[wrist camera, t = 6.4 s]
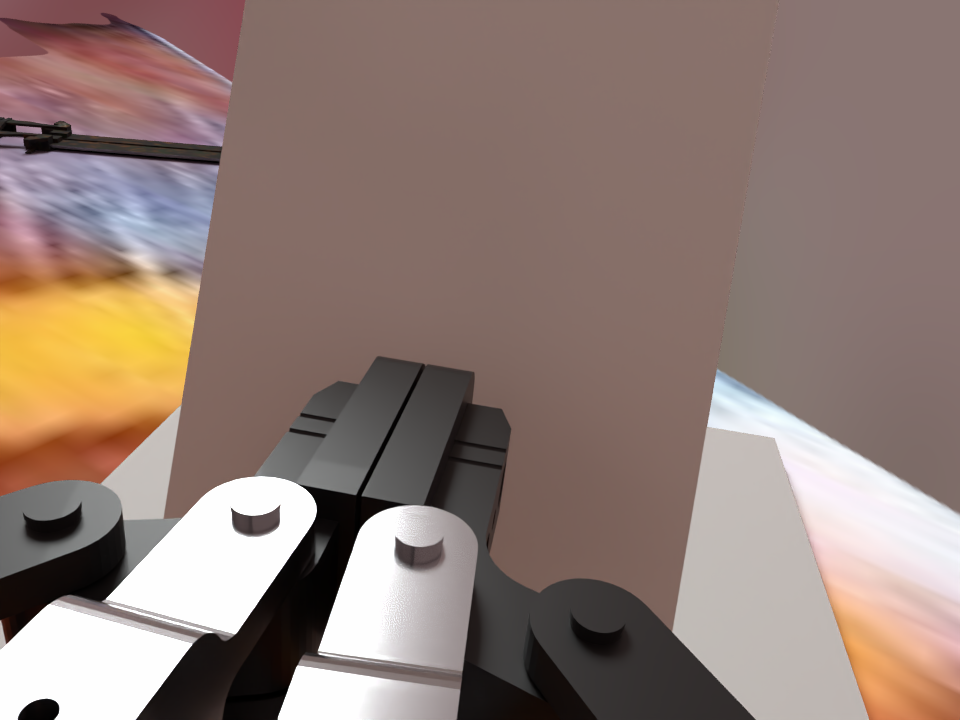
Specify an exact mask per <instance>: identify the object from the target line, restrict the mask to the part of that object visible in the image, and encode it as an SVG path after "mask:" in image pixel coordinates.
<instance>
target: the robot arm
mask: <svg viewBox="0 0 960 720" xmlns="http://www.w3.org/2000/svg"><path fill="white" fill-rule="evenodd" d="M474 382H475V373H474V372H472V371H466V370H460V369H454V368H448V367H442V366H436V365H430V364H427V365H426V366H425V364H423V363H417V362H412V361H406V360H400V359H394V358H388V357H382V356H377V357H376V359H375V360H374V362H373V363H372V365H371V366H370V368H369V369H368V371H367V373H366V374H365V376H364V377H363V379H362V380H361V382H360V384H354V383H348V382H342V381H337V382H336V383H334V384H332V385H330V386H328V387H326V388H325V389H323V390H321V391H319V392H317V393H316V394H314V395H313V396H312V398H311V399H310V400H309V402H308V403H307V405H306V406H305V407H304V409H303V410H302V411H301V413H300V417H299V416H298V417H297V418H296V420H295V421H294V422H293V424H292V425H291V426H290V428H289V432H286V433H285V435H284V436H283V437H282V439H281V440H280V442H279V443H278V444H277V446H276V447H275V448H274V450H273V451H272V453H271V454H270V455H269V457H268V458H267V459H266V461H265V462H264V463H263V465H262V466H261V468H260V469H259V470H258V472H257V473H256V474H255V476H254V477H251V478H243V479H239V480H234V481H231V482H228V483H225V484H223V485H221V486H218V487H216V488H215V489H213V490H211V491H210V492H208V493H207V494H206V495H205V496H204V497H203V498H202V499H201V500H200V501H199V502H198V503H197V504H196V505H195V506H194V507H193V508H192V509H191V510H190V511H189V512H188V513H187V514H186V516H185V517H184V518H172V519H144V520H123V512H122V505H121V501H120V499H119V497H118V495H117V494H115V493H114V492H113V491H112V490H111V489H109V488H107V487H106V486H103V485H100V484H98V483H93V482H89V481H80V480H64V481H54V482H49V483H44V484H40V485H36V486H32V487H29V488H26V489H23V490H19V491H16V492H13V493H10V494H6V495H3V496H0V620H1V623H2V627H3V632H4V637H5V642H6V646H5V647H4V648H3V649H2V650H1V651H0V720H756V719H755V718H754V717H753V716H752V715H751V714H750V713H749V712H748V711H747V710H746V709H745V708H744V707H743V705H742V704H741V703H740V702H739V701H738V700H737V699H736V698H735V697H734V696H733V695H732V694H731V693H730V692H729V691H728V690H727V689H726V688H725V687H724V686H723V685H722V684H721V683H720V681H719V680H718V679H717V678H716V677H715V676H714V675H713V674H712V673H711V672H710V671H709V670H708V669H707V668H706V667H705V666H704V665H703V664H702V663H701V662H700V661H699V660H698V659H697V657H696V656H695V655H694V654H693V653H692V652H691V651H690V650H689V649H688V648H687V647H686V646H685V645H684V644H683V643H682V642H681V641H680V640H679V639H678V638H677V637H676V636H675V635H674V633H673V632H672V631H671V630H670V629H669V628H668V627H667V626H666V625H665V624H664V623H663V622H662V621H661V620H660V619H659V618H658V617H657V616H656V615H655V614H654V613H653V612H652V611H651V609H650V608H649V607H648V606H647V605H646V604H644V603H643V602H642V601H641V600H640V599H639V598H637V597H636V596H635V595H633V594H632V593H630V592H628V591H626V590H625V589H623V588H621V587H618V586H616V585H613V584H611V583H608V582H604V581H600V580H594V579H584V578H576V579H567V580H563V581H559V582H556V583H554V584H551V585H549V586H548V587H546V588H545V589H543V590H542V591H541V592H540V593H538V592H536V591H534V590H532V589H529V588H527V587H525V586H523V585H521V584H520V583H518V582H516V581H514V580H513V579H511V578H510V577H508V576H507V575H506V574H505V573H504V572H503V571H501V570H500V569H499V568H498V566H497V565H496V564H495V563H494V562H493V560H492V558H491V556H490V555H489V554H490V550H491V546H492V542H493V537H494V533H495V528H496V524H497V519H498V515H499V510H500V503H501V497H502V490H503V483H504V476H505V469H506V462H507V456H508V449H509V442H510V435H511V427H510V425H509V423H508V421H507V419H506V416H505V414H504V412H503V410H502V409H500V408H494V407H488V406H482V405H477V404H472V400H473V392H474Z"/></svg>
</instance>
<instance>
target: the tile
mask: <svg viewBox="0 0 960 720" xmlns="http://www.w3.org/2000/svg"><path fill="white" fill-rule="evenodd" d="M778 3H779V0H246V1H245V7H244V13H243V19H242V26H241V32H240V39H239V45H238V51H237V57H236V64H235V70H234V76H233V83H232V89H231V95H230V101H229V108H228V114H227V120H226V127H225V133H224V139H223V146H222V152H221V158H220V165H219V171H218V177H217V183H216V190H215V196H214V202H213V209H212V215H211V221H210V228H209V234H208V240H207V247H206V253H205V259H204V265H203V272H202V278H201V284H200V291H199V297H198V303H197V310H196V316H195V322H194V329H193V335H192V341H191V347H190V354H189V360H188V366H187V373H186V379H185V385H184V392H183V398H182V404H181V411H180V417H179V423H178V429H177V436H176V442H175V448H174V455H173V461H172V467H171V474H170V480H169V486H168V493H167V499H166V505H165V511H164V518H163V519H172V518H184V517H185V516H186V514H187V513H188V512H189V511H190V510H191V509H192V508H193V507H194V506H195V505H196V504H197V503H198V502H199V501H200V500H201V499H202V498H203V497H204V496H205V495H206V494H207V493H208V492H210V491H211V490H213V489H215V488H216V487H218V486H221V485H223V484H225V483H228V482H231V481H234V480H239V479H243V478H251V477H254V476H255V474H256V473H257V472H258V470H259V469H260V468H261V466H262V465H263V463H264V462H265V461H266V459H267V458H268V457H269V455H270V454H271V453H272V451H273V450H274V448H275V447H276V446H277V444H278V443H279V442H280V440H281V439H282V437H283V436H284V435H285V433H286V432H289V428H290V426H291V425H292V424H293V422H294V421H295V420H296V418H297V417H298V416H299V417H300V413H301V411H302V410H303V409H304V407H305V406H306V405H307V403H308V402H309V400H310V399H311V398H312V396H313V395H314V394H316V393H317V392H319V391H321V390H323V389H325V388H326V387H328V386H330V385H332V384H334V383H336V382H337V381H342V382H348V383H354V384H360V382H361V380H362V379H363V377H364V376H365V374H366V373H367V371H368V369H369V368H370V366H371V365H372V363H373V362H374V360H375V359H376V357H377V356H382V357H388V358H394V359H400V360H406V361H412V362H417V363H423V364H425V366H426V365H427V364H430V365H436V366H442V367H448V368H454V369H460V370H466V371H472V372H474V373H475V382H474V392H473V400H472V404H477V405H482V406H488V407H494V408H500V409H502V410H503V412H504V414H505V416H506V419H507V421H508V423H509V425H510V427H511V435H510V442H509V449H508V456H507V462H506V469H505V476H504V483H503V490H502V497H501V503H500V510H499V515H498V519H497V524H496V528H495V533H494V537H493V542H492V546H491V550H490V554H489V555H490V556H491V558H492V560H493V562H494V563H495V564H496V565H497V566H498V568H499V569H500V570H501V571H503V572H504V573H505V574H506V575H507V576H508V577H510V578H511V579H513V580H514V581H516V582H518V583H520V584H521V585H523V586H525V587H527V588H529V589H532V590H534V591H536V592H538V593H540V592H541V591H542V590H543V589H545V588H546V587H548V586H549V585H551V584H554V583H556V582H559V581H563V580H567V579H576V578H584V579H594V580H600V581H604V582H608V583H611V584H613V585H616V586H618V587H621V588H623V589H625V590H626V591H628V592H630V593H632V594H633V595H635V596H636V597H637V598H639V599H640V600H641V601H642V602H643V603H644V604H646V605H647V606H648V607H649V608H650V609H651V611H652V612H653V613H654V614H655V615H656V616H657V617H658V618H659V619H660V620H661V621H662V622H663V623H664V624H665V625H666V626H667V627H668V628H669V629H670V630H671V631H673V625H674V619H675V613H676V607H677V601H678V595H679V589H680V583H681V577H682V571H683V566H684V560H685V554H686V548H687V542H688V536H689V530H690V524H691V518H692V512H693V506H694V500H695V495H696V489H697V483H698V477H699V471H700V465H701V459H702V453H703V447H704V441H705V435H706V429H707V423H708V418H709V412H710V406H711V400H712V394H713V388H714V382H715V376H716V370H717V364H718V358H719V352H720V347H721V341H722V334H723V329H724V323H725V316H726V311H727V305H728V299H729V293H730V287H731V281H732V276H733V269H734V264H735V258H736V252H737V246H738V240H739V234H740V228H741V222H742V216H743V210H744V205H745V199H746V193H747V187H748V180H749V175H750V169H751V163H752V157H753V151H754V145H755V139H756V134H757V127H758V122H759V115H760V110H761V103H762V98H763V92H764V85H765V80H766V74H767V68H768V62H769V56H770V51H771V45H772V39H773V33H774V27H775V20H776V15H777V9H778Z"/></svg>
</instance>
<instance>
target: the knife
mask: <svg viewBox="0 0 960 720" xmlns="http://www.w3.org/2000/svg"><path fill="white" fill-rule="evenodd" d="M16 125H17V126H29V127H41V129H42V134H33V133H21V132H16ZM3 136H4V137H17V136H24V139H23V140H24V146H25V147H26V149H29V150H28V151H27V152H25V153H29V154H31V153H33V152H34V151H36V150H41V151H51V150H53V149H59V148H60V149H72V150H85V151H97V152H109V153H122V154H134V155H146V156H158V157H171V158H183V159H195V160H208V161H220V158H221V152H222V147H219V146H207V145H195V144H183V143H171V142H159V141H147V140H135V139H123V138H111V137H99V136H88V135H76V134H72V130H71V125H70V124H68V123H66V122H64V121H58V122H56V123H54V125H47V124H40V123H34V122H28V121H16V120H12V118H7V119H4V118H2V117H0V138H1V137H3Z"/></svg>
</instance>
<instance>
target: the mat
mask: <svg viewBox="0 0 960 720" xmlns="http://www.w3.org/2000/svg"><path fill="white" fill-rule="evenodd" d="M180 411H181V405H180V406H179V407H178V408H177V409H176V410H175V411H174V412H173V413H172V414H171V415H170V416H169V417H168V418H167V419H166V420H165V421H164V422H163V423H162V424H161V425H160V426H159V427H158V428H157V429H156V430H155V431H154V432H153V433H152V434H151V435H150V436H149V437H148V438H147V439H146V440H145V441H144V442H143V443H142V444H141V445H140V446H139V447H138V448H137V449H136V450H135V451H134V452H133V453H132V454H131V455H129V456H128V457H127V458H126V459H125V460H124V461H123V462H122V463H121V464H120V465H119V466H118V467H117V468H116V469H115V470H114V471H113V472H112V473H111V474H110V475H109V476H108V477H107V478H106V479H105V480H104V481H103V482H102V483H101V484H100V485H103V486H106V487H107V488H109V489H111V490H112V491H113V492H114V493H115V494H117V495H118V497H119V499H120V501H121V505H122V512H123V520H144V519H163V518H164V511H165V505H166V499H167V493H168V486H169V480H170V474H171V467H172V461H173V455H174V448H175V442H176V436H177V429H178V423H179V417H180ZM672 632H673V633H674V635H675V636H676V637H677V638H678V639H679V640H680V641H681V642H682V643H683V644H684V645H685V646H686V647H687V648H688V649H689V650H690V651H691V652H692V653H693V654H694V655H695V656H696V657H697V659H698V660H699V661H700V662H701V663H702V664H703V665H704V666H705V667H706V668H707V669H708V670H709V671H710V672H711V673H712V674H713V675H714V676H715V677H716V678H717V679H718V680H719V681H720V683H721V684H722V685H723V686H724V687H725V688H726V689H727V690H728V691H729V692H730V693H731V694H732V695H733V696H734V697H735V698H736V699H737V700H738V701H739V702H740V703H741V704H742V705H743V707H744V708H745V709H746V710H747V711H748V712H749V713H750V714H751V715H752V716H753V717H754V718H755V719H756V720H869V717H868V714H867V711H866V709H865V706H864V703H863V700H862V697H861V694H860V691H859V688H858V685H857V682H856V679H855V676H854V673H853V670H852V667H851V664H850V661H849V658H848V655H847V652H846V649H845V646H844V643H843V640H842V637H841V634H840V631H839V628H838V625H837V622H836V619H835V616H834V614H833V611H832V608H831V605H830V602H829V599H828V596H827V593H826V590H825V587H824V584H823V581H822V578H821V575H820V572H819V569H818V566H817V563H816V560H815V557H814V554H813V551H812V548H811V545H810V542H809V539H808V536H807V533H806V530H805V527H804V524H803V521H802V519H801V516H800V513H799V510H798V507H797V504H796V501H795V498H794V495H793V492H792V489H791V486H790V483H789V480H788V477H787V474H786V471H785V468H784V465H783V462H782V459H781V456H780V453H779V450H778V447H777V444H776V441H775V438H770V437H764V436H758V435H752V434H746V433H740V432H734V431H728V430H722V429H716V428H711V427H707V429H706V435H705V441H704V447H703V453H702V459H701V465H700V471H699V477H698V483H697V489H696V495H695V500H694V506H693V512H692V518H691V524H690V530H689V536H688V542H687V548H686V554H685V560H684V566H683V571H682V577H681V583H680V589H679V595H678V601H677V607H676V613H675V619H674V625H673V631H672ZM5 646H6V642H5V637H4V632H3V627H2V623H1V620H0V651H1V650H2V649H3V648H4V647H5Z"/></svg>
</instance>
